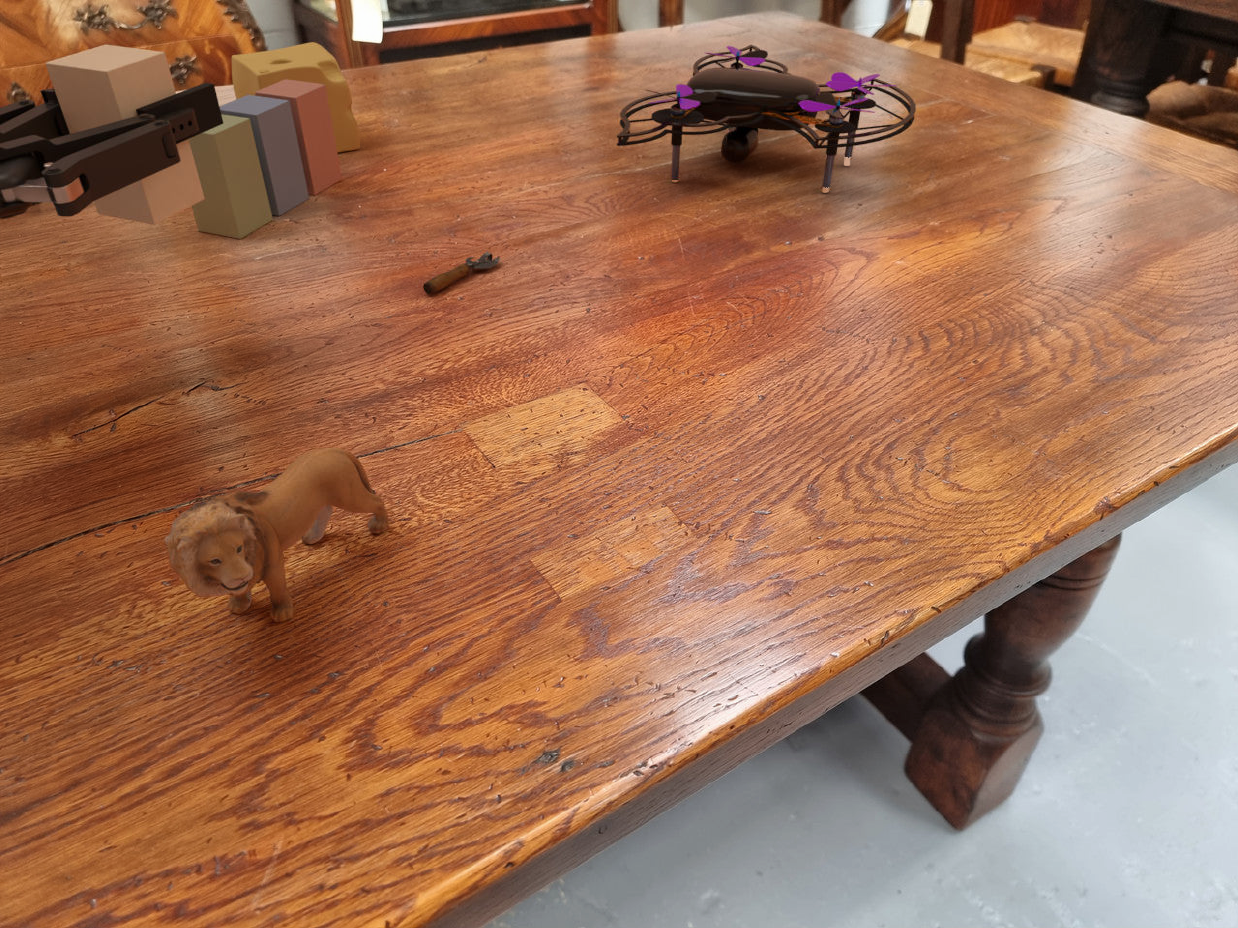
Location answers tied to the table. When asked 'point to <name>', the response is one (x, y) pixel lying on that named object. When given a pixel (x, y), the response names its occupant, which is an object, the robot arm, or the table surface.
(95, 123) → the block
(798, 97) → the drone
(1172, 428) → the table surface
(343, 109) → the cheese
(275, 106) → the block
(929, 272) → the table surface
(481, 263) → the can opener
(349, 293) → the table surface
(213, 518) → the lion figurine
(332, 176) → the block
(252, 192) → the block
